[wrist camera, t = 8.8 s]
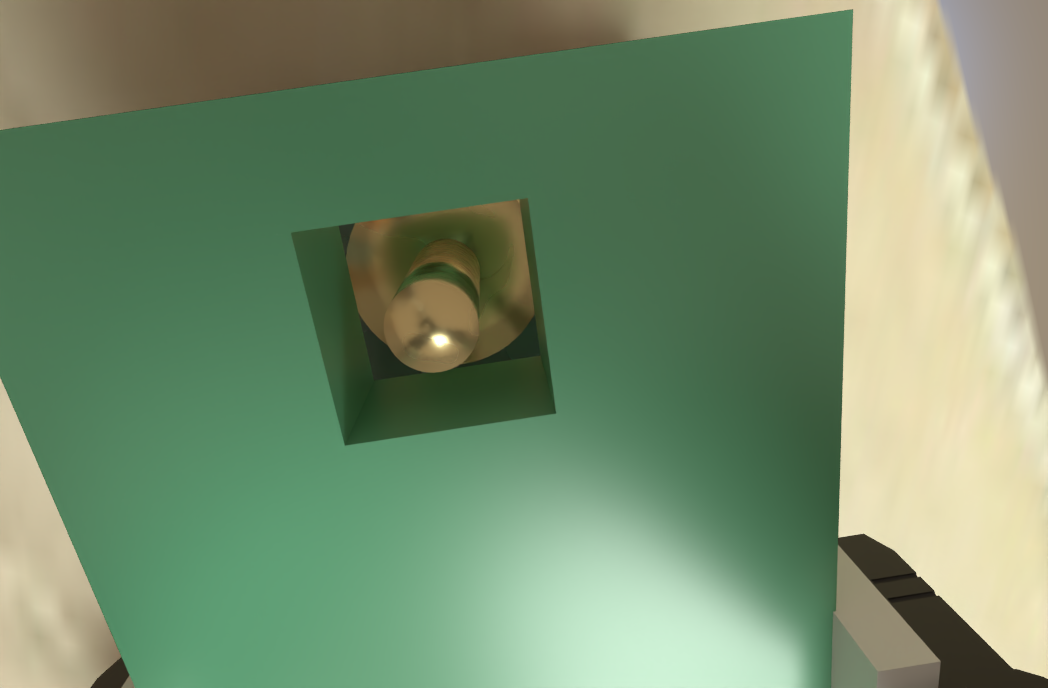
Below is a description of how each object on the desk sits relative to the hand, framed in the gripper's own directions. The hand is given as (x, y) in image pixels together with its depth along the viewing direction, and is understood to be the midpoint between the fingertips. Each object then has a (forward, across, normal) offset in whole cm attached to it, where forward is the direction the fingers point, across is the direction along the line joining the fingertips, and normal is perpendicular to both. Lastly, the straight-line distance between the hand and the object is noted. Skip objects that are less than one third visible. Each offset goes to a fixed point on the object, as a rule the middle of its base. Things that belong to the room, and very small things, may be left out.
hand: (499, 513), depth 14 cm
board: (-4, 0, 0) cm, 4 cm away
